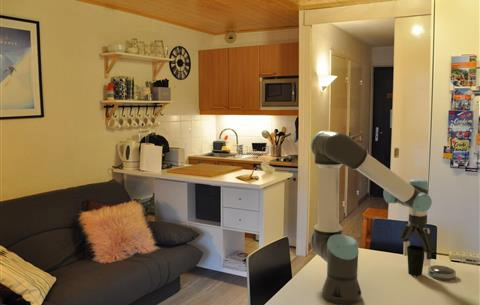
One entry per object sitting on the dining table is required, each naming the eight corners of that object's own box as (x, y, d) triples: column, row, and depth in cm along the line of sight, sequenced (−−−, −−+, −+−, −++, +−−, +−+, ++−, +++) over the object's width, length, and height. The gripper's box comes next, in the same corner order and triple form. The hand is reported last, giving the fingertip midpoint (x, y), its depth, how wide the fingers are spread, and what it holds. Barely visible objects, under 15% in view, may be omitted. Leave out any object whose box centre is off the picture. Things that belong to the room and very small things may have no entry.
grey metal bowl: (440, 281, 183) (440, 275, 182) (422, 272, 193) (422, 266, 193) (461, 278, 186) (461, 272, 186) (442, 269, 196) (442, 263, 196)
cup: (421, 270, 195) (422, 245, 193) (426, 277, 187) (428, 251, 186) (403, 270, 195) (404, 244, 194) (408, 276, 188) (409, 250, 187)
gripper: (446, 220, 177) (444, 269, 180) (406, 206, 201) (405, 250, 204) (431, 222, 175) (429, 272, 178) (392, 208, 199) (391, 252, 201)
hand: (416, 260), depth 191 cm, fingers open, 13 cm apart
